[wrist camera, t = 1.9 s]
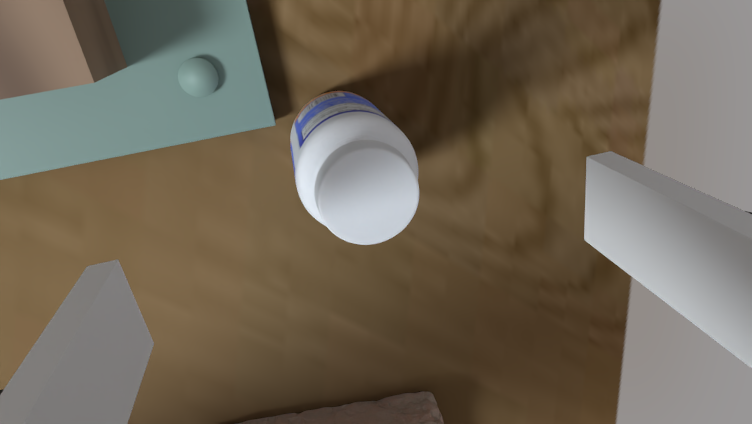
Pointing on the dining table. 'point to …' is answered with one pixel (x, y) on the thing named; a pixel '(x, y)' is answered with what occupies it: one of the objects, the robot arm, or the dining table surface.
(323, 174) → the pill bottle
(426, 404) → the brick
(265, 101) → the build board
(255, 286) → the dining table surface
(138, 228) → the dining table surface
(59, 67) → the walnut block
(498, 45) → the dining table surface
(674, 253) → the robot arm
